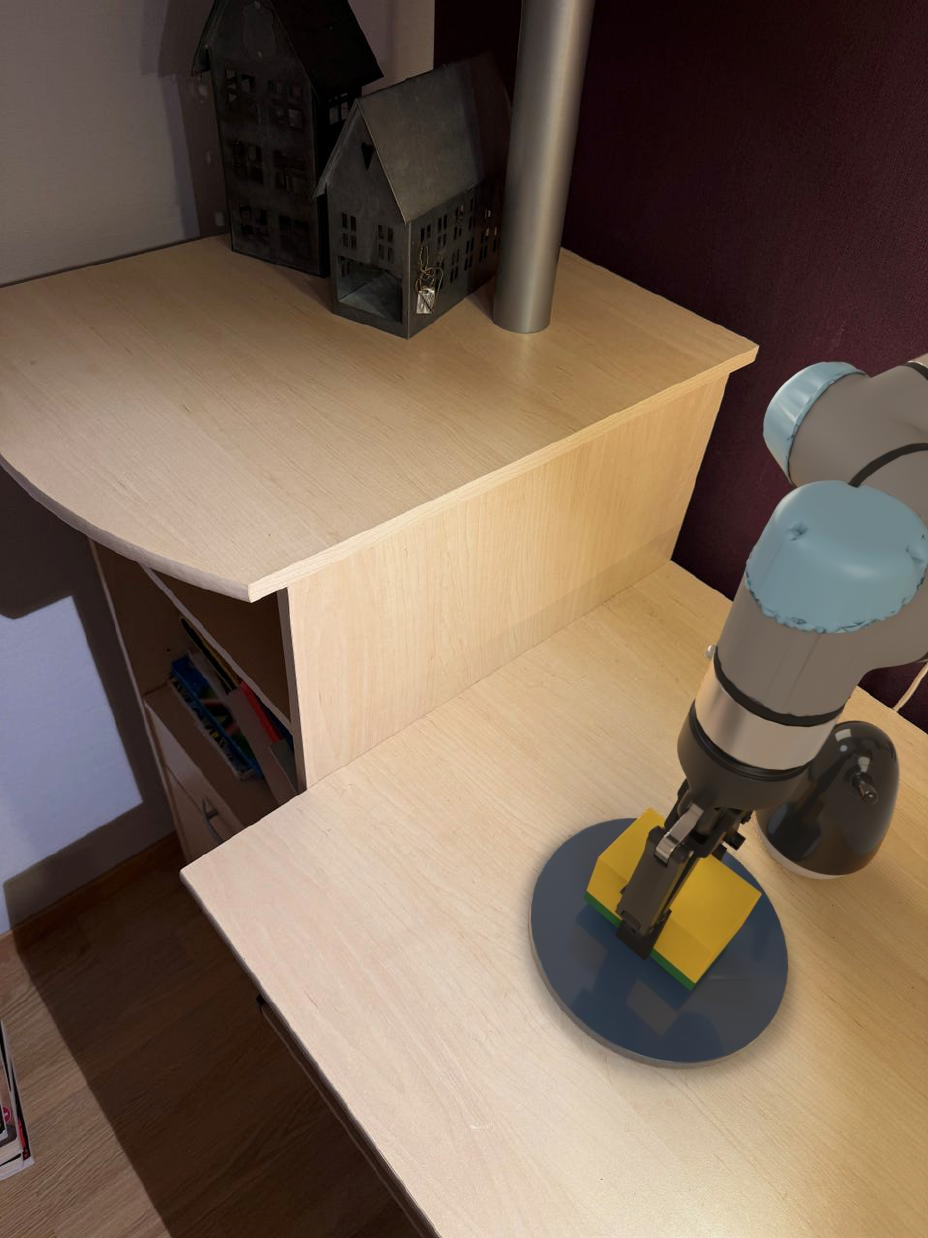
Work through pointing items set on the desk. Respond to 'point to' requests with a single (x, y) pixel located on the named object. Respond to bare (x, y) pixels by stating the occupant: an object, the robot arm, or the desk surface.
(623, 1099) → the desk surface
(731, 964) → the plate
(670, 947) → the sponge
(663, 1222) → the desk surface
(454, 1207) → the desk surface
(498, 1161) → the desk surface
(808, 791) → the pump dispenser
